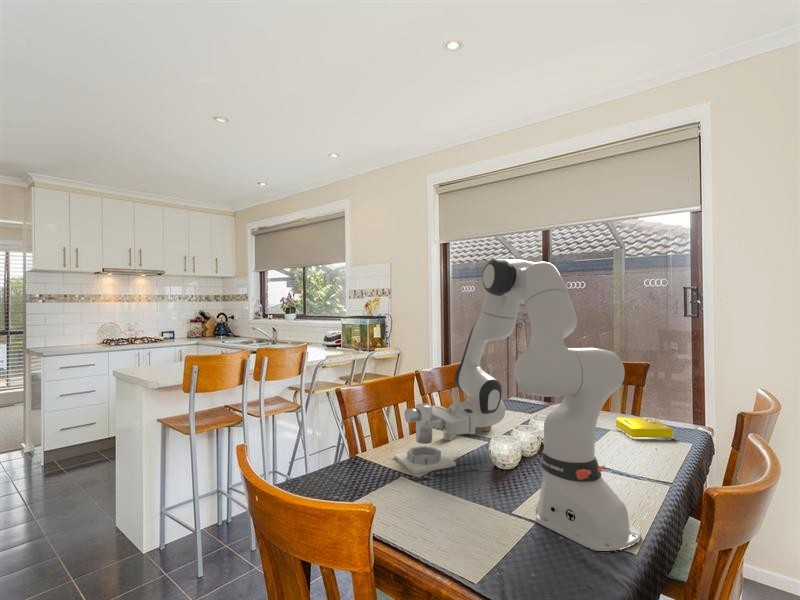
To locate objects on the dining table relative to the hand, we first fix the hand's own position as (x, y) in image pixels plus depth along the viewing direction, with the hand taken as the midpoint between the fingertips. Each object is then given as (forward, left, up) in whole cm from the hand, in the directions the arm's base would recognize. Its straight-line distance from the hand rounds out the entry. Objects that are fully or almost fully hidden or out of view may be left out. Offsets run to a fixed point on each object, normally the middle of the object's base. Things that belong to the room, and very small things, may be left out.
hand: (421, 422), depth 134 cm
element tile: (-11, -88, -13) cm, 90 cm away
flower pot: (+19, -37, -13) cm, 43 cm away
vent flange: (0, -1, -12) cm, 12 cm away
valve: (+16, -23, -13) cm, 31 cm away
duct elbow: (0, +1, -6) cm, 6 cm away
